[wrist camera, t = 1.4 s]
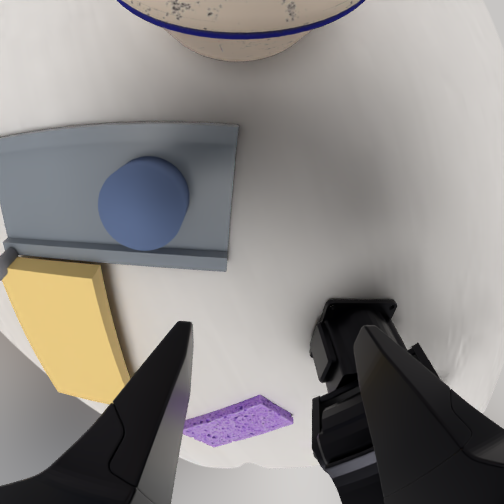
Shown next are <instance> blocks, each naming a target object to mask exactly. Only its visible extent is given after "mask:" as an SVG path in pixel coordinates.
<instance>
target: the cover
mask: <svg viewBox="0 0 504 504" xmlns="http://www.w3.org/2000/svg"><path fill="white" fill-rule="evenodd" d="M1 280H2V282H3V284H4V287H5V289H6V292H7V294H8V297H9V299H10V302H11V304H12V307H13V309H14V311H15V313H16V316H17V318H18V320H19V322H20V324H21V326H22V329H23V331H24V333H25V335H26V337H27V339H28V341H29V343H30V345H31V346H32V348H33V350H34V352H35V354H36V356H37V358H38V359H39V361H40V363H41V365H42V366H43V368H44V370H45V371H46V373H47V375H48V376H49V378H50V380H51V381H52V383H53V385H54V386H55V388H56V389H57V390H58V392H60V393H64V394H68V395H71V396H75V397H79V398H83V399H88V400H92V401H96V402H101V403H106V404H111V403H113V400H114V399H115V398H116V396H117V395H118V394H119V393H120V391H121V390H122V389H123V388H124V386H125V385H126V384H127V383H128V382H129V380H130V376H129V373H128V370H127V367H126V364H125V361H124V358H123V354H122V351H121V348H120V344H119V341H118V338H117V334H116V330H115V327H114V323H113V319H112V315H111V311H110V307H109V303H108V299H107V294H106V290H105V285H104V280H103V275H102V270H101V265H95V264H84V263H73V262H63V261H52V260H43V259H33V258H24V257H18V254H17V252H16V251H15V250H14V249H13V248H8V249H7V250H6V251H5V252H4V253H3V254H2V255H1V256H0V281H1Z"/></svg>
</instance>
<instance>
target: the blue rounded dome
mask: <svg viewBox="0 0 504 504" xmlns="http://www.w3.org/2000/svg"><path fill="white" fill-rule="evenodd" d="M189 199H190V197H189V188H188V185H187V182H186V180H185V178H184V176H183V175H182V173H181V172H180V171H179V170H178V169H177V168H176V167H175V166H174V165H173V164H171V163H170V162H168V161H166V160H164V159H162V158H159V157H153V156H143V157H139V158H136V159H133V160H131V161H129V162H128V163H126V164H125V165H123V166H122V167H121V168H119V169H118V170H117V171H115V172H114V173H113V174H111V175H110V176H109V177H108V178H107V179H106V181H105V182H104V184H103V186H102V188H101V190H100V193H99V198H98V211H99V216H100V219H101V221H102V224H103V226H104V227H105V229H106V230H107V232H108V233H109V234H110V235H111V236H112V237H113V238H114V239H115V240H116V241H117V242H119V243H120V244H122V245H124V246H126V247H128V248H131V249H135V250H141V251H148V250H154V249H158V248H161V247H163V246H165V245H166V244H168V243H169V242H170V241H171V240H172V239H173V238H174V237H175V236H176V235H177V233H178V231H179V230H180V227H181V225H182V222H183V220H184V217H185V215H186V212H187V209H188V206H189Z"/></svg>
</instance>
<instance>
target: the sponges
mask: <svg viewBox="0 0 504 504" xmlns="http://www.w3.org/2000/svg"><path fill="white" fill-rule="evenodd" d="M293 423H294V422H293V417H291V414H290V413H289V412H288V411H285V410H284V409H282V408H281V407H279V406H277V405H275V404H273V403H272V402H271V401H269V400H268V399H266V398H265V397H263V396H262V395H258V396H256V397H253V398H250V399H248V400H245V401H243V402H239V403H238V404H234V405H231V406H229V407H226V408H223V409H220V410H217V411H214V412H211V413H208V414H205V415H202V416H198V417H195V418H191V419H188V420H185V424H184V429H183V434H184V435H186V436H189V437H194V438H195V440H198V441H202V442H204V443H206V444H207V445H210V446H212V447H217V446H221V445H224V444H228V443H231V442H232V441H238V440H243V439H246V438H250V437H252V436H257V435H260V434H264V433H266V432H270V431H273V430H275V429H279V428H282V427H284V426H288V425H291V424H293Z"/></svg>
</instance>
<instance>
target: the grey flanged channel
mask: <svg viewBox="0 0 504 504" xmlns="http://www.w3.org/2000/svg"><path fill="white" fill-rule="evenodd" d="M238 129H239V125H235V124H220V123H201V122H123V123H104V124H91V125H79V126H70V127H61V128H53V129H45V130H39V131H32V132H26V133H20V134H15V135H9V136H4V137H0V204H1V209H2V214H3V219H4V223H5V227H6V232H7V236H8V238H7V239H6V240H5V241H4V242H3V245H4V249H5V251H6V250H7V249H8V248H13V249H14V250H15V251H16V252H17V254H18V255H26V256H36V257H46V258H56V259H67V260H78V261H89V262H101V263H113V264H125V265H137V266H151V267H164V268H178V269H193V270H208V271H223V272H226V270H227V253H228V239H229V226H230V214H231V202H232V190H233V179H234V168H235V157H236V146H237V139H238ZM143 156H153V157H159V158H162V159H164V160H166V161H168V162H170V163H171V164H173V165H174V166H175V167H176V168H177V169H178V170H179V171H180V172H181V173H182V175H183V176H184V178H185V180H186V182H187V185H188V188H189V197H190V199H189V206H188V209H187V212H186V215H185V217H184V220H183V222H182V225H181V227H180V230H179V231H178V233H177V235H176V236H175V237H174V238H173V239H172V240H171V241H170V242H169V243H168V244H166V245H165V246H163V247H161V248H158V249H154V250H148V251H141V250H135V249H131V248H128V247H126V246H124V245H122V244H120V243H119V242H117V241H116V240H115V239H114V238H113V237H112V236H111V235H110V234H109V233H108V232H107V230H106V229H105V227H104V226H103V224H102V221H101V219H100V216H99V211H98V198H99V193H100V190H101V188H102V186H103V184H104V182H105V181H106V179H107V178H108V177H109V176H110V175H111V174H113V173H114V172H115V171H117V170H118V169H119V168H121V167H122V166H123V165H125V164H126V163H128V162H129V161H131V160H133V159H136V158H139V157H143Z"/></svg>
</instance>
